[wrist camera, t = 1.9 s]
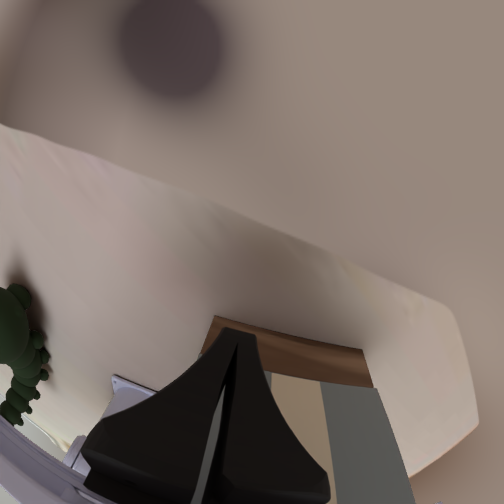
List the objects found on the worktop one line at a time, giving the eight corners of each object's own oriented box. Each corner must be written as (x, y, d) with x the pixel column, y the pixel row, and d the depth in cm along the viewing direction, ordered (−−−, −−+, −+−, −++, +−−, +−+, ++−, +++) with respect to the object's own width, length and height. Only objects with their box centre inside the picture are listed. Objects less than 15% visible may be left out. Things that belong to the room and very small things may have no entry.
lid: (412, 519, 7) (420, 514, 6) (141, 509, 6) (140, 506, 6) (373, 393, 18) (377, 387, 18) (198, 359, 18) (199, 352, 18)
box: (313, 418, 27) (315, 452, 23) (197, 394, 27) (186, 428, 23) (362, 349, 23) (373, 387, 18) (214, 315, 23) (200, 352, 18)
